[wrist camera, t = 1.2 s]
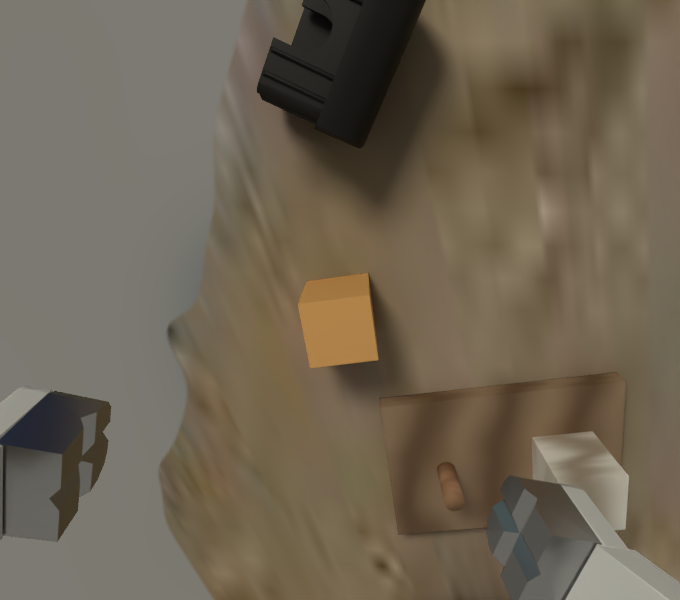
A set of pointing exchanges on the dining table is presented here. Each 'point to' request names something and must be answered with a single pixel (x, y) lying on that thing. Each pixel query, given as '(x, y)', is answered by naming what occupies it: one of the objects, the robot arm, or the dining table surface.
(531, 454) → the peg board
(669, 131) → the dining table surface
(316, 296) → the tan wooden cube
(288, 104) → the end cap
